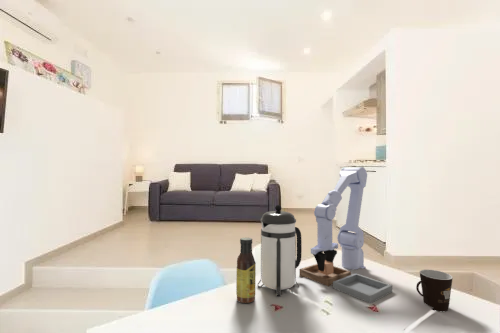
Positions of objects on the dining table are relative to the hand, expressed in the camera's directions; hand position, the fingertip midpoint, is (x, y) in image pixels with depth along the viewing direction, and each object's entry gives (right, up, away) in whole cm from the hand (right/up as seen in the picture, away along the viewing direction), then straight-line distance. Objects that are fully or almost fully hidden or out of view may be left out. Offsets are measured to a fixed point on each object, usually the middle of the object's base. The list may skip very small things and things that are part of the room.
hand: (324, 269), depth 110 cm
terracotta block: (0, -1, 0) cm, 1 cm away
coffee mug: (+27, -3, -23) cm, 36 cm away
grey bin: (+10, -3, -13) cm, 16 cm away
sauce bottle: (-31, -3, -19) cm, 36 cm away
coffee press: (-19, -3, -8) cm, 21 cm away
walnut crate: (0, -3, 0) cm, 3 cm away
